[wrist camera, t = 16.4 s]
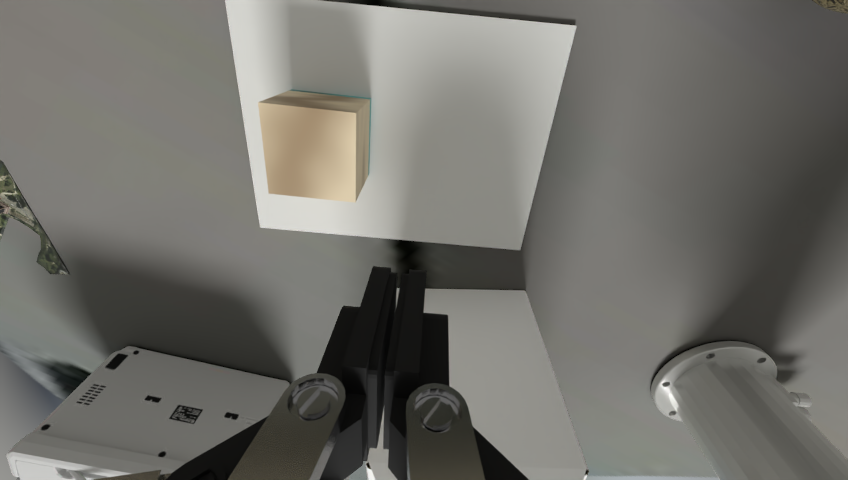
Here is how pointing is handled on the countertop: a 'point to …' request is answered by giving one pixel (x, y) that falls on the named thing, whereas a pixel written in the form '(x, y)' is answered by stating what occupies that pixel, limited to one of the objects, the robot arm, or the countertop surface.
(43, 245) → the eiffel tower figurine
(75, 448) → the stereo radio cassette player
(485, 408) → the gable box
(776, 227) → the countertop surface
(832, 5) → the cup
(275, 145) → the block
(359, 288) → the countertop surface
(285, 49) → the mat
